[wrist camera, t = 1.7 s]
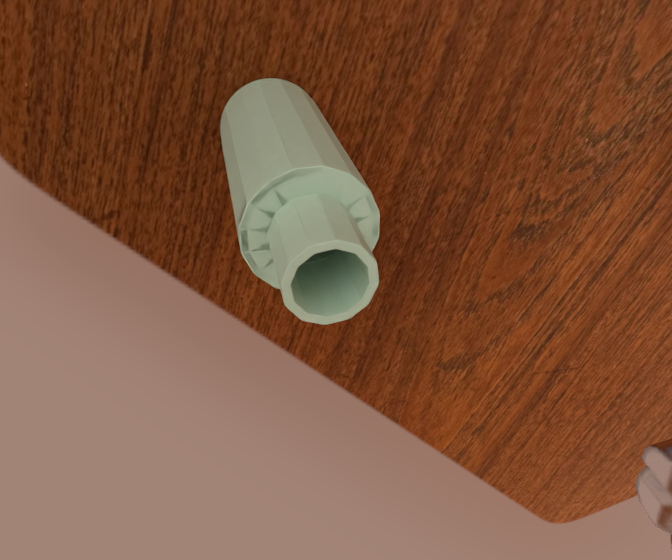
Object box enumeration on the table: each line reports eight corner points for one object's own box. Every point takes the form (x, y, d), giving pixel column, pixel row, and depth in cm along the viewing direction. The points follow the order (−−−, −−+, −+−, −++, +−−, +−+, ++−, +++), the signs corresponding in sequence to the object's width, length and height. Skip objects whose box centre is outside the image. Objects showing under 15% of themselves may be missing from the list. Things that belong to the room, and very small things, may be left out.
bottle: (207, 160, 28) (228, 333, 17) (237, 63, 26) (281, 191, 15) (300, 186, 29) (370, 358, 19) (334, 97, 27) (435, 234, 17)
